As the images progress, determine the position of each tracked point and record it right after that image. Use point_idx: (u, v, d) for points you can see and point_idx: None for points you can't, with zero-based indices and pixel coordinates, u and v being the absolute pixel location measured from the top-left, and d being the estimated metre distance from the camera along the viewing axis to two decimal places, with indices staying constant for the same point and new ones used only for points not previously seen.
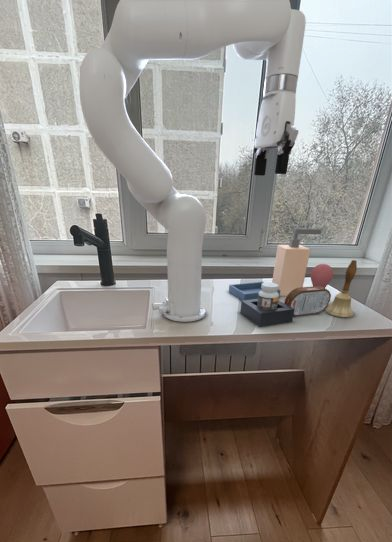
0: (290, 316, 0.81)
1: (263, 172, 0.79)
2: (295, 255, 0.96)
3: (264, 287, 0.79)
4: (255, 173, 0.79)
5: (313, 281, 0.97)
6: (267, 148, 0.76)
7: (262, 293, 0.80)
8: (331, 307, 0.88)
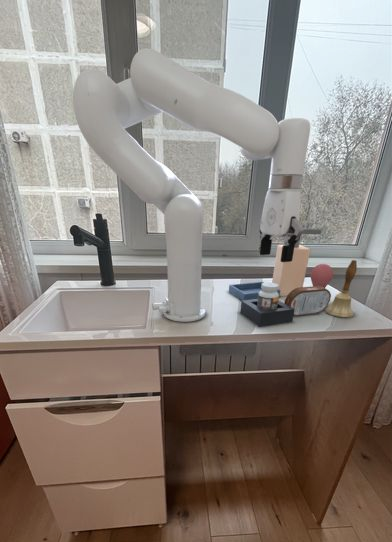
0: (290, 316, 0.81)
1: (268, 252, 0.80)
2: (295, 255, 0.96)
3: (264, 287, 0.79)
4: (260, 253, 0.80)
5: (313, 281, 0.97)
6: None
7: (262, 293, 0.80)
8: (331, 307, 0.88)
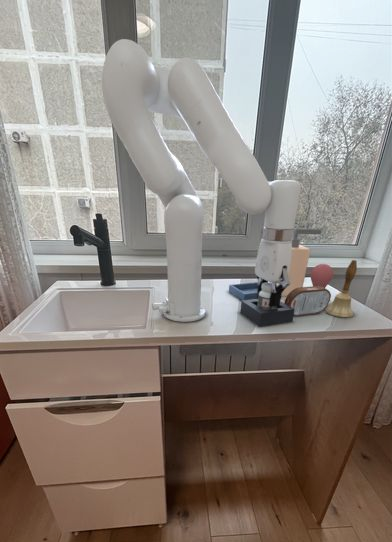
0: (290, 316, 0.81)
1: None
2: (295, 255, 0.96)
3: (264, 287, 0.79)
4: (257, 297, 0.84)
5: (313, 281, 0.97)
6: None
7: (262, 293, 0.80)
8: (331, 307, 0.88)
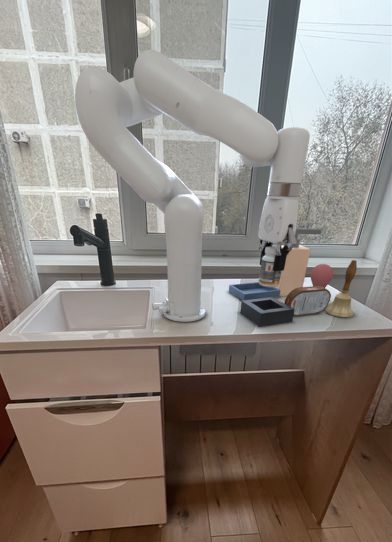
0: (290, 316, 0.81)
1: None
2: (295, 255, 0.96)
3: (268, 250, 0.74)
4: (260, 264, 0.80)
5: (313, 281, 0.97)
6: None
7: (266, 257, 0.75)
8: (331, 307, 0.88)
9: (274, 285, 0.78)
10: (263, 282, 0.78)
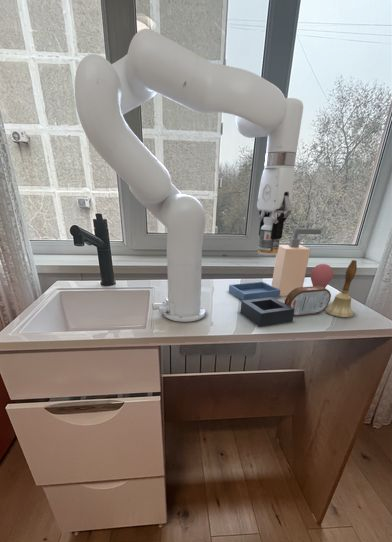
0: (290, 316, 0.81)
1: None
2: (295, 255, 0.96)
3: (266, 219, 0.79)
4: (259, 234, 0.84)
5: (313, 281, 0.97)
6: (270, 210, 0.81)
7: (264, 226, 0.80)
8: (331, 307, 0.88)
9: (272, 253, 0.82)
10: (262, 251, 0.82)
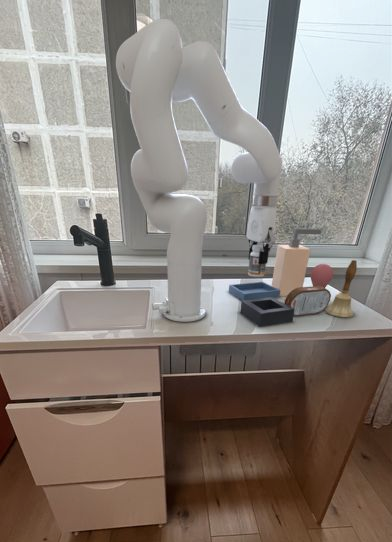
0: (290, 316, 0.81)
1: None
2: (295, 255, 0.96)
3: (254, 248, 0.95)
4: (249, 258, 1.00)
5: (313, 281, 0.97)
6: None
7: (253, 253, 0.96)
8: (331, 307, 0.88)
9: (260, 275, 0.98)
10: (251, 273, 0.98)
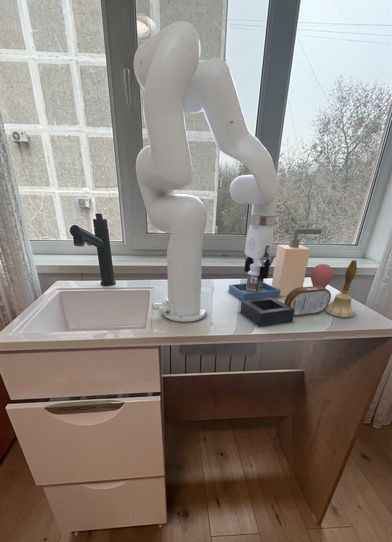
0: (290, 316, 0.81)
1: None
2: (295, 255, 0.96)
3: (252, 267, 0.98)
4: (245, 270, 1.03)
5: (313, 281, 0.97)
6: None
7: (250, 272, 0.99)
8: (331, 307, 0.88)
9: None
10: (249, 291, 1.01)
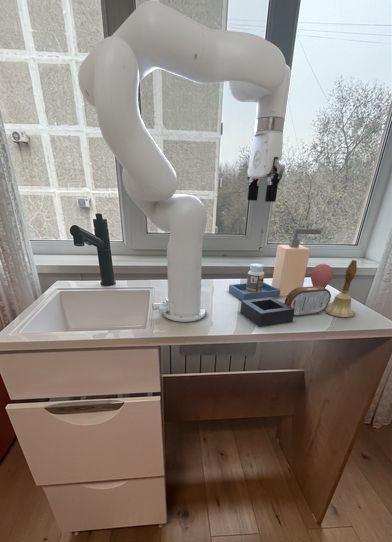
0: (290, 316, 0.81)
1: (255, 197, 0.88)
2: (295, 255, 0.96)
3: (252, 267, 0.98)
4: (248, 198, 0.88)
5: (313, 281, 0.97)
6: (259, 177, 0.85)
7: (250, 272, 0.99)
8: (331, 307, 0.88)
9: None
10: (249, 291, 1.01)
